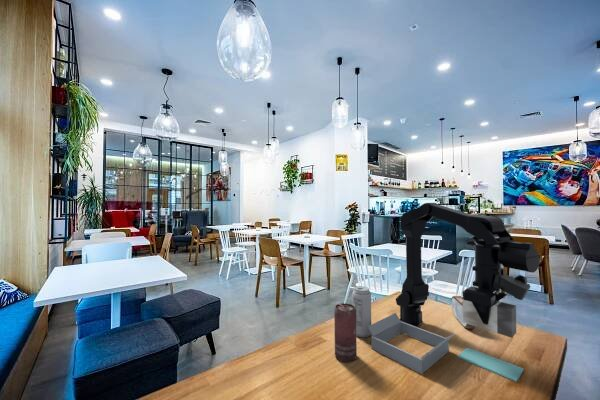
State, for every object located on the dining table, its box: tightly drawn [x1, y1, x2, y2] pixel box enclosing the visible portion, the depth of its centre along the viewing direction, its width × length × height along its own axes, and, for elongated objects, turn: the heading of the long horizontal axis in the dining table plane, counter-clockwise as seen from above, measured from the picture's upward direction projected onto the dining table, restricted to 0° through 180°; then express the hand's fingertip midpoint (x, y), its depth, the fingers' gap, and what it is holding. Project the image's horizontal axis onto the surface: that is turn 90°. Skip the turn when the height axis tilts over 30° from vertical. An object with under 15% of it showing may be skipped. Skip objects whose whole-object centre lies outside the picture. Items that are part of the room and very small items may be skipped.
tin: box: [451, 295, 476, 330], centre depth 95 cm, size 15×3×8 cm, turn 168°
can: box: [333, 303, 358, 363], centre depth 75 cm, size 6×6×14 cm
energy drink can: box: [351, 285, 372, 338], centre depth 88 cm, size 6×6×15 cm
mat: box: [457, 347, 525, 382], centre depth 71 cm, size 13×7×1 cm, turn 39°
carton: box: [368, 312, 455, 375], centre depth 78 cm, size 19×16×6 cm
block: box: [463, 299, 517, 339], centre depth 71 cm, size 11×4×7 cm, turn 39°
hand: (488, 321), depth 71 cm, fingers closed on block, 4 cm apart
